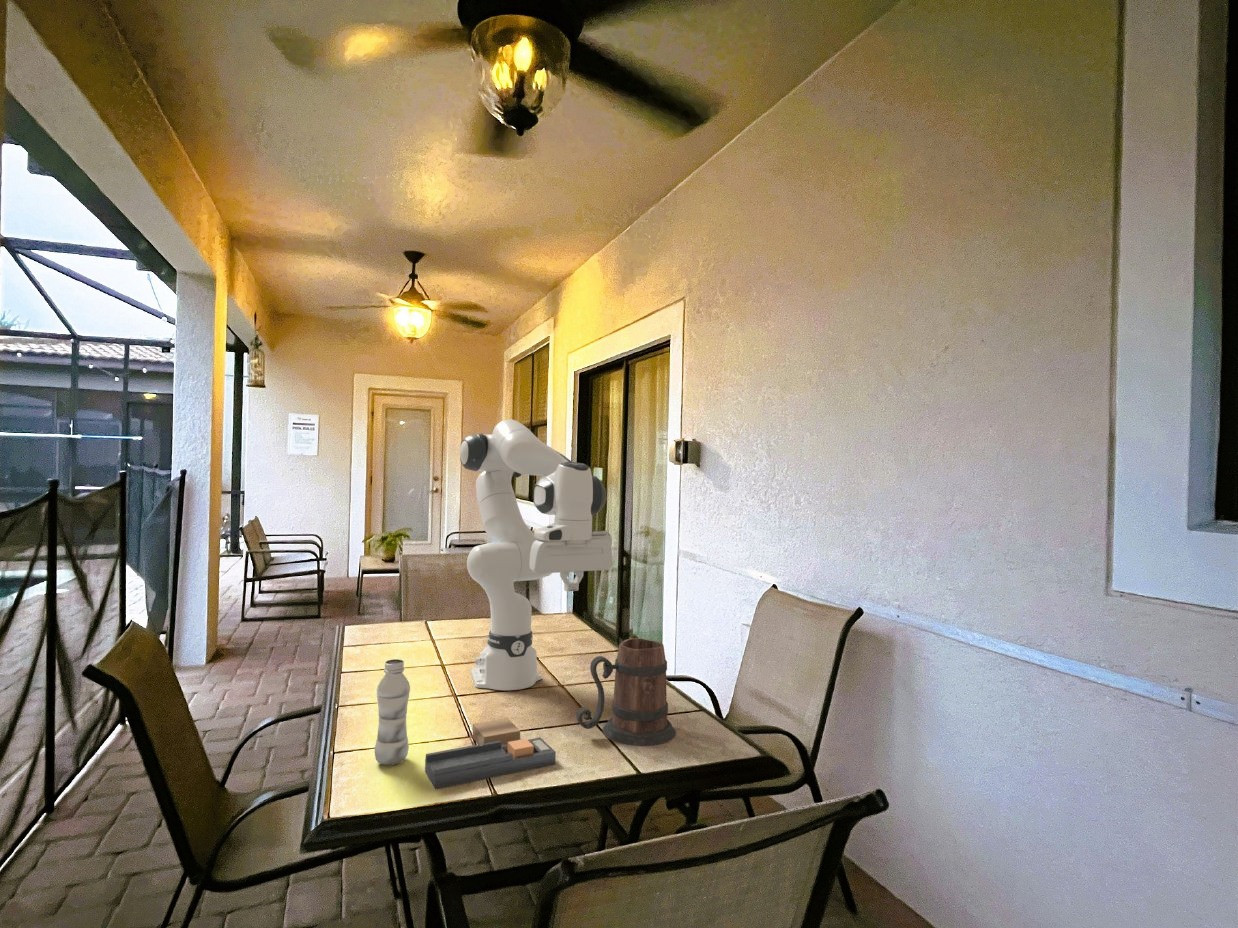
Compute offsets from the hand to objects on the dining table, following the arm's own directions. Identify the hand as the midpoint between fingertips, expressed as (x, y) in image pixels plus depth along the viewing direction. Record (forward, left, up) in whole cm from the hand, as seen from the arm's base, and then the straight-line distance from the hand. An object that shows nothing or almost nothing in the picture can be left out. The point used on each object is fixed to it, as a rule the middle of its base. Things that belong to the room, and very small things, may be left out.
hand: (571, 590), depth 154 cm
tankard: (+10, +10, -31) cm, 34 cm away
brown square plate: (+2, -18, -31) cm, 36 cm away
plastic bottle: (+3, -40, -31) cm, 51 cm away
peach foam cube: (+14, -19, -29) cm, 38 cm away
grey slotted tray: (+14, -23, -31) cm, 41 cm away
